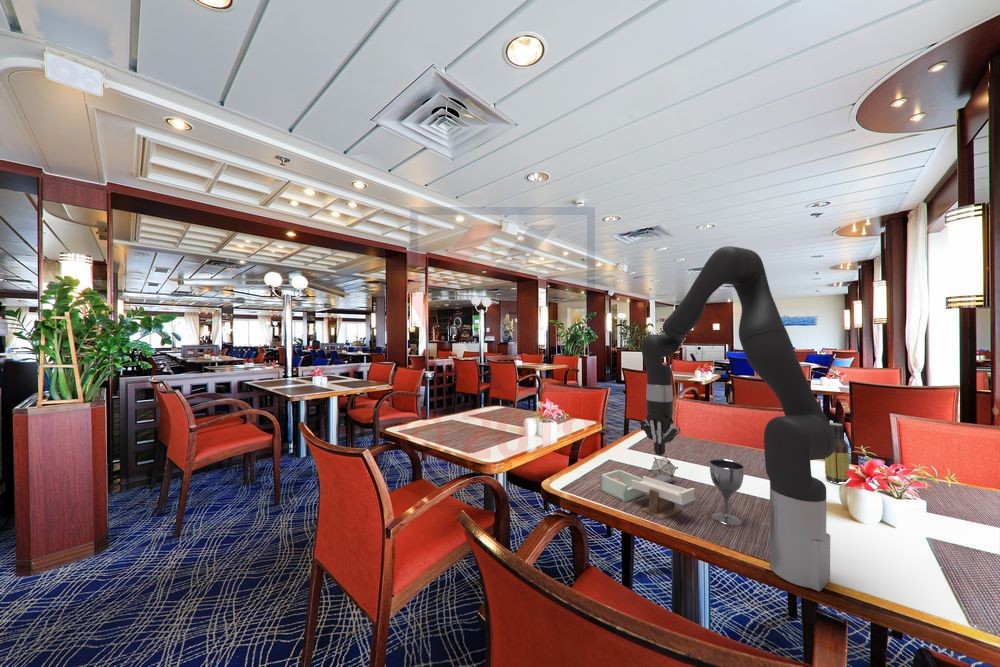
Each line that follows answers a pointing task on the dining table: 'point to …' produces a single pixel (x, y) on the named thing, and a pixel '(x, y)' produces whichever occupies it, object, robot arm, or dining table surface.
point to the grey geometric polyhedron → (663, 467)
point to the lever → (666, 490)
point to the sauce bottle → (838, 457)
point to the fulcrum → (660, 506)
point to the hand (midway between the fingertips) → (659, 454)
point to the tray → (620, 485)
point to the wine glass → (726, 485)
